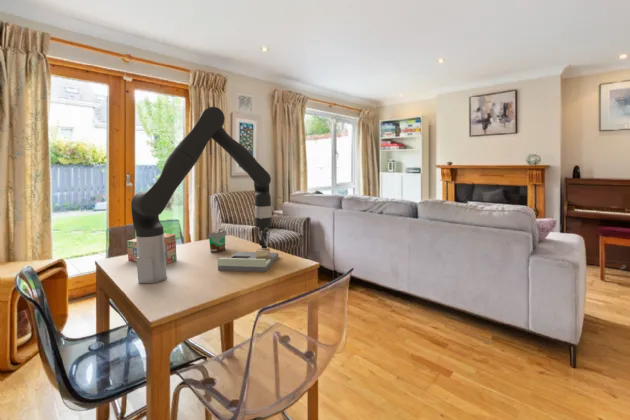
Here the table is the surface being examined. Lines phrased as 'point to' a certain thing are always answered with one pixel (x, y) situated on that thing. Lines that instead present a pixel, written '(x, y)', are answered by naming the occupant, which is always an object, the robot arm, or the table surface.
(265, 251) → the maple block
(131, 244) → the stack of blocks
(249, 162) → the robot arm
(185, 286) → the table surface
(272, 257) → the grey panel with windows
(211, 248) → the food container
